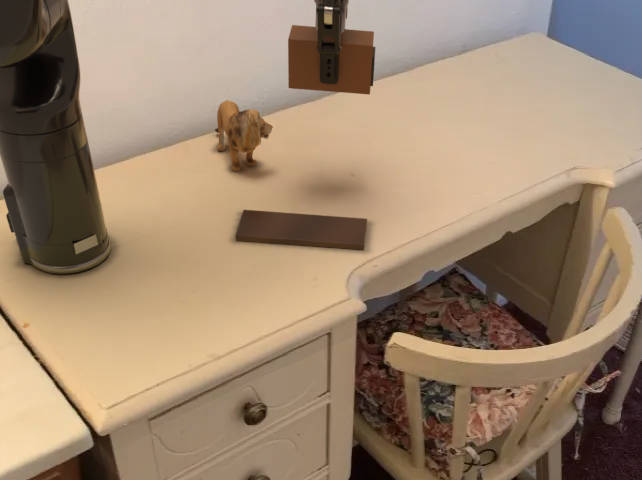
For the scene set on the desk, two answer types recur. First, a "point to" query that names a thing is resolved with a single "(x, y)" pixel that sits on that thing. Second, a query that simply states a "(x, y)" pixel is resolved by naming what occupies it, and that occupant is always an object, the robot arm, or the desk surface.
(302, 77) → the brown cardboard box
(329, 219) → the walnut board
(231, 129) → the lion figurine
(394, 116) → the desk surface
